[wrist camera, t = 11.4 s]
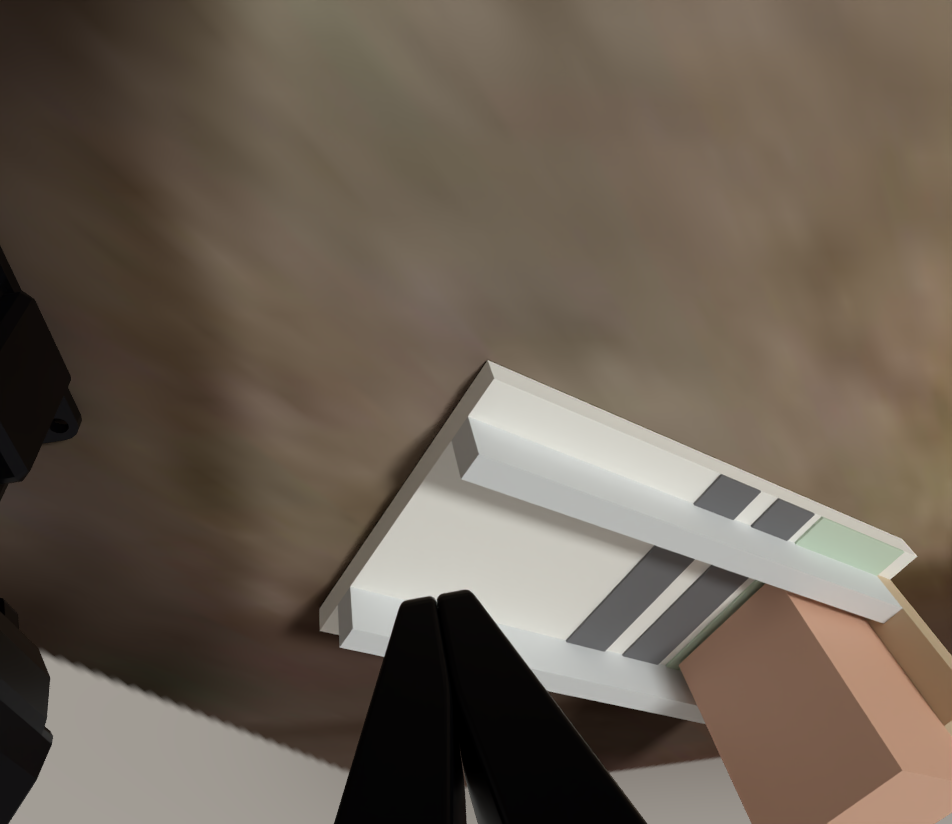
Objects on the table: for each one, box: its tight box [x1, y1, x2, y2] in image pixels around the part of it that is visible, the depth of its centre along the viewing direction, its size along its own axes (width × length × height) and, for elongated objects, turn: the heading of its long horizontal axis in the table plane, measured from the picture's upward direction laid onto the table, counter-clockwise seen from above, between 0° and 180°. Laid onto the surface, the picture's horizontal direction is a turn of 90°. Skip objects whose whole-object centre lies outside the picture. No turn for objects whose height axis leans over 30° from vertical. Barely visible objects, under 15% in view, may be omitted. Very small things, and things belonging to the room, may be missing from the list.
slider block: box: [679, 583, 952, 824], centre depth 29 cm, size 5×6×8 cm
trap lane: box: [319, 360, 952, 736], centre depth 27 cm, size 21×12×7 cm, turn 58°
